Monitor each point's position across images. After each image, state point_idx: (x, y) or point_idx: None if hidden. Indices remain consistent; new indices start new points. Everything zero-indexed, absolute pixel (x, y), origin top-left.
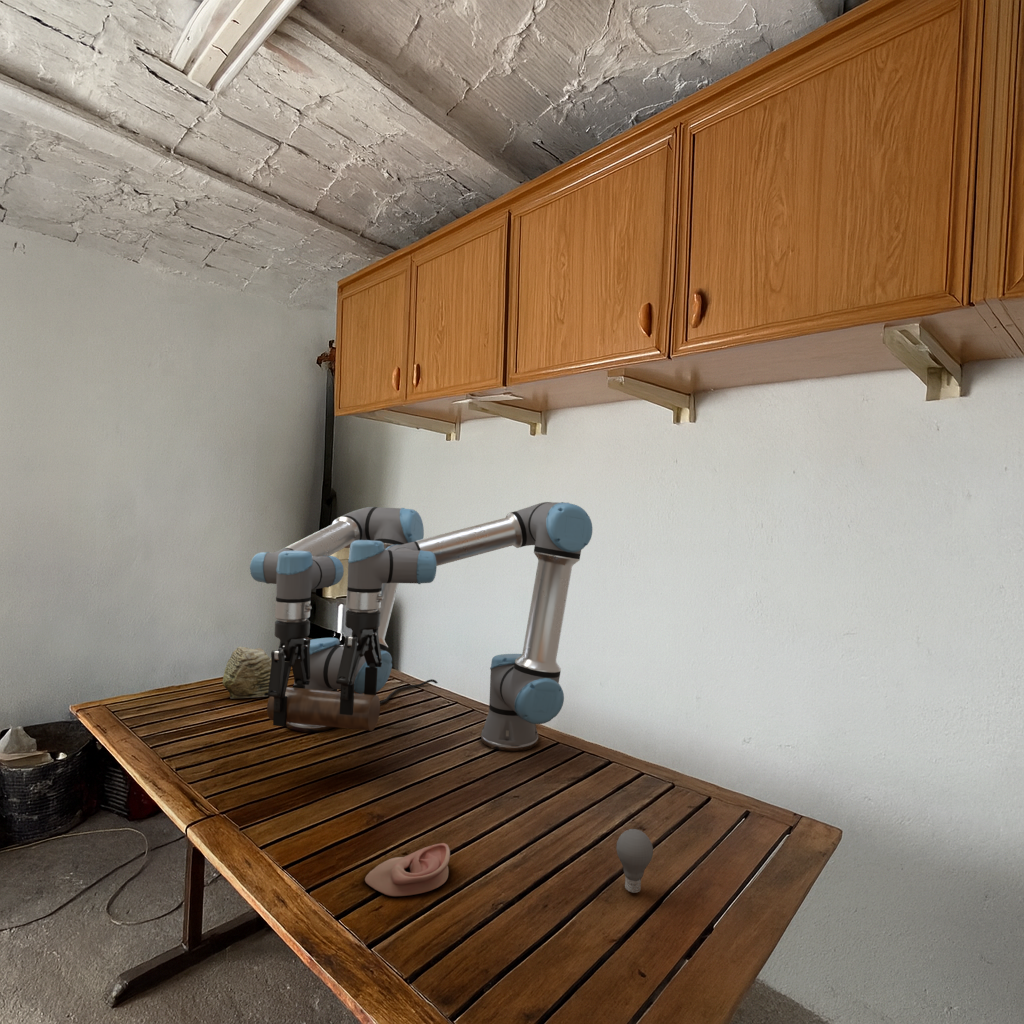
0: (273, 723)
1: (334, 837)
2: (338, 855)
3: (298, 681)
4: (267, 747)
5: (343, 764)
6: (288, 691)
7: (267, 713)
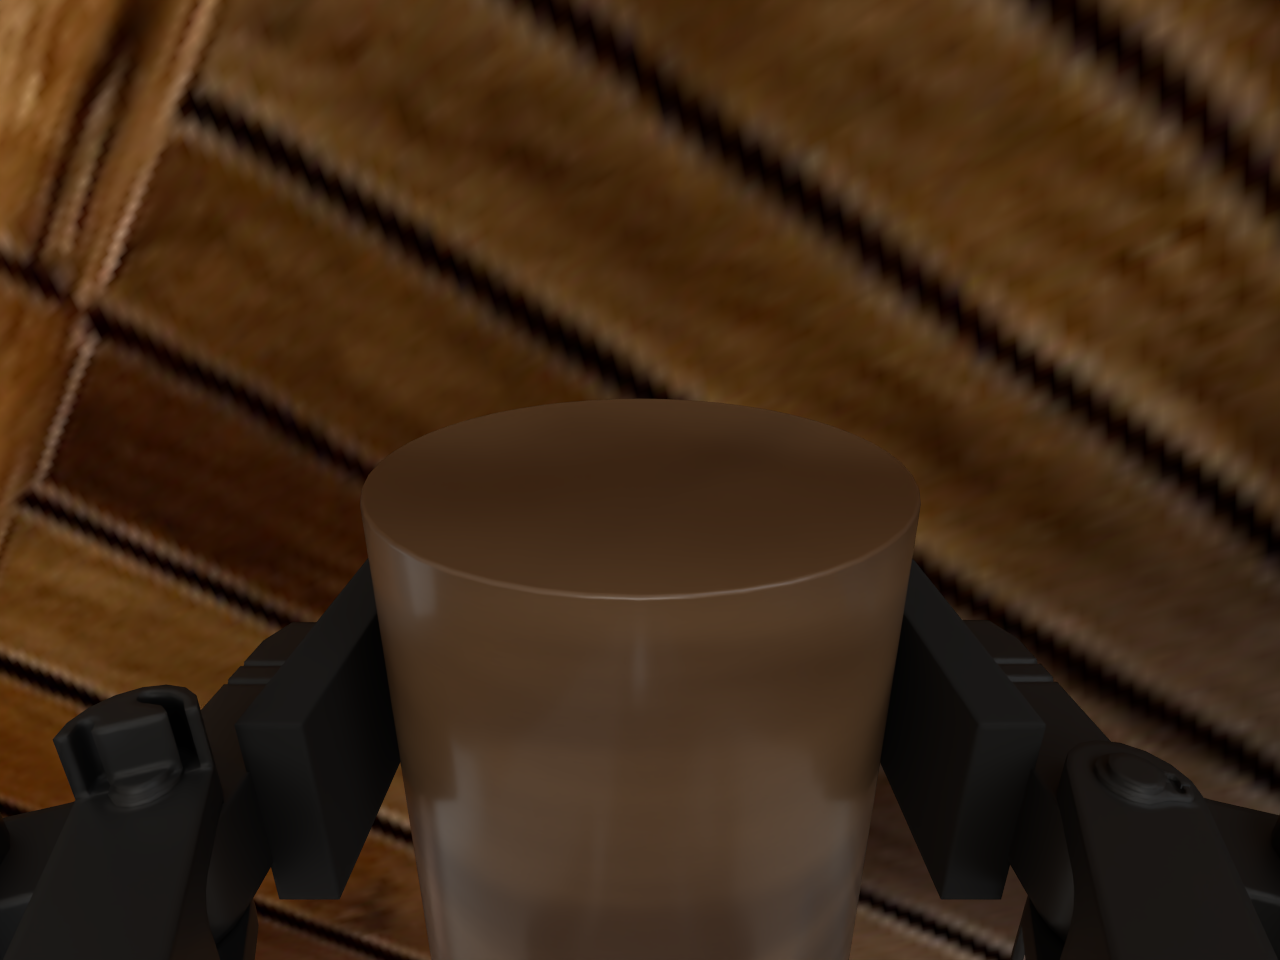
0: None
1: None
2: None
3: (1065, 861)
4: (1029, 43)
5: None
6: (510, 866)
7: (417, 440)
